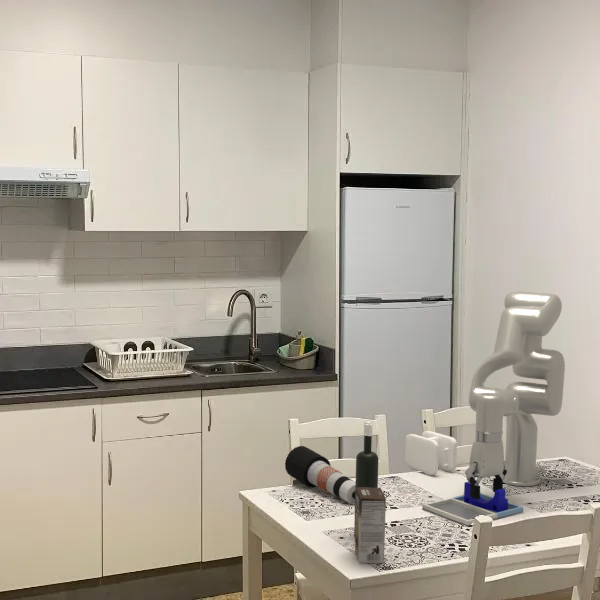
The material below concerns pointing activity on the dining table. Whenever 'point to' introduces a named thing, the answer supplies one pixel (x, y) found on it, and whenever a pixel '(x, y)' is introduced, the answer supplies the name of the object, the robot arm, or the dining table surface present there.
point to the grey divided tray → (467, 510)
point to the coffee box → (370, 525)
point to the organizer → (430, 452)
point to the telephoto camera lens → (319, 473)
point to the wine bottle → (366, 464)
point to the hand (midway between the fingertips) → (486, 495)
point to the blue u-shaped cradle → (494, 505)
